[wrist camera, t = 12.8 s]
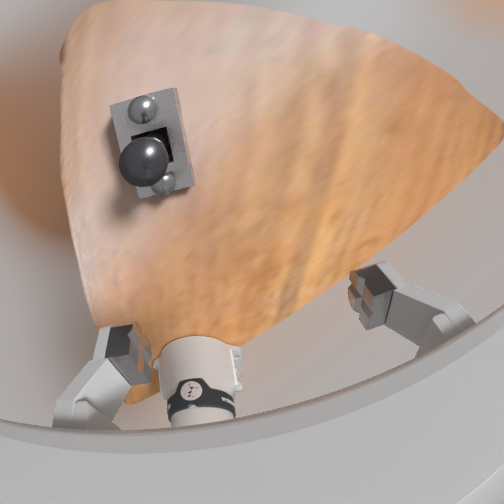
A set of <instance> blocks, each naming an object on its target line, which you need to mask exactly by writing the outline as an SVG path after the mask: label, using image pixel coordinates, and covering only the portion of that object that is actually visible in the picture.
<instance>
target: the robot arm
mask: <svg viewBox="0 0 504 504" xmlns="http://www.w3.org/2000/svg"><path fill="white" fill-rule="evenodd" d="M349 280H350V281H351V283H352V284H351V285H350V286H349V288H348V298H349V302H350V305H351V307H352V308H353V310H354V311H356V312H358V313H360V314H359V320H360V321H361V323H362V324H363V326H364V328H365V329H366V330H369V329H372V328H375V327H377V326H381V325H384V324H385V325H386V326H387V327H389V328H390V329H392V330H394V331H395V332H397V333H398V334H400V335H402V336H404V337H405V338H407V339H409V340H410V341H412V342H413V343H415V344H416V345H418V346H420V348H419V350H418V352H417V354H416V356H415V358H414V359H413V360H410V361H408V362H406V363H404V364H402V365H399V366H397V367H395V368H393V369H391V370H388V371H386V372H384V373H382V374H379V375H377V376H374V377H372V378H370V379H367V380H365V381H362V382H360V383H357V384H354V385H352V386H349V387H346V388H343V389H341V390H338V391H335V392H332V393H329V394H326V395H323V396H320V397H317V398H314V399H310V400H307V401H304V402H300V403H297V404H293V405H290V406H286V407H282V408H278V409H275V410H271V411H266V412H262V413H258V414H254V415H249V416H244V417H239V418H235V416H236V414H235V405H234V398H235V392H237V391H238V392H239V391H242V383H241V381H240V376H241V363H242V348H241V347H239V346H234V345H228V344H226V343H224V342H222V341H220V340H217V339H215V338H211V337H205V336H189V337H183V338H179V339H176V340H174V341H172V342H170V343H169V344H167V345H166V346H165V347H164V348H163V350H162V352H161V355H160V356H159V357H158V358H157V359H155V360H154V361H153V368H154V369H155V370H156V371H158V372H159V382H160V393H161V396H163V397H164V398H165V399H166V400H167V401H168V402H167V403H168V404H167V405H168V407H167V414H168V418H169V421H170V422H171V428H159V429H145V430H121V429H120V428H119V427H118V426H116V425H115V424H114V423H112V420H113V418H114V416H115V415H116V413H117V411H118V409H119V407H120V406H121V404H122V402H123V400H124V399H125V397H126V395H127V393H128V392H129V390H130V388H131V385H137V384H144V383H151V367H150V366H149V365H148V363H149V361H150V360H151V359H152V351H151V345H150V343H149V340H148V338H147V337H146V335H144V334H142V333H141V327H140V325H139V324H138V322H129V323H122V324H116V325H111V326H103V327H101V328H100V330H99V333H98V337H97V342H96V346H95V351H94V355H93V360H89V361H88V363H87V364H86V365H85V366H84V368H83V369H82V370H81V371H80V372H79V373H78V375H77V376H76V377H75V378H74V380H73V381H72V382H71V383H70V384H69V386H68V387H67V388H66V389H65V391H64V392H63V393H62V394H61V396H60V397H59V398H58V399H57V402H56V407H55V413H54V419H53V425H52V427H45V426H37V425H30V424H23V423H18V422H12V421H7V420H2V419H0V504H504V305H502V306H501V307H500V308H498V309H497V310H496V311H494V312H492V313H491V314H490V315H488V316H487V317H485V318H484V319H482V320H481V321H479V322H478V323H475V322H474V321H473V319H472V318H470V316H469V315H468V314H467V312H466V311H465V310H464V309H463V308H462V307H461V305H460V304H459V303H457V302H454V301H452V300H449V299H447V298H444V297H442V296H439V295H437V294H434V293H432V292H429V291H427V290H424V289H422V288H419V287H417V286H414V285H412V284H409V285H407V284H406V283H405V281H404V280H403V279H402V278H401V277H400V276H399V275H398V273H397V272H396V271H395V270H394V269H393V268H392V267H391V266H390V265H389V264H388V262H386V261H382V262H379V263H376V264H373V265H369V266H366V267H363V268H359V269H356V270H352V271H351V272H350V276H349Z"/></svg>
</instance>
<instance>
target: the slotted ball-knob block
mask: <svg viewBox="0 0 504 504" xmlns="http://www.w3.org/2000/svg"><path fill="white" fill-rule="evenodd" d="M110 110H111V114H112V119H113V123H114V127H115V132H116V136H117V140H118V144H119V147H120V151H121V153H122V151H123V150H124V148H125V147H126V146H127V145H128V144H129V143H130V142H132V141H133V140H135V139H138V138H139V135H138V134H141V133H144V132H148V131H152V130H155V129H159V128H163V127H167V132H168V136H169V141H170V146H171V150H172V154H171V155H168V159H169V161H168V167H167V170H166V172H165V174H164V176H163V177H162V179H161V180H160V181H159V182H157V183H156V184H154V185H152V186H148V187H138V186H136V190H137V193H138V196H139V199H142V198H146V197H150V196H154V195H160V196H165V195H168V194H170V193H171V192H172V191H174V190H179V189H183V188H187V187H192V186H195V180H194V175H193V170H192V166H191V161H190V156H189V151H188V146H187V141H186V136H185V131H184V126H183V121H182V116H181V110H180V105H179V99H178V94H177V88H170V89H166V90H162V91H158V92H154V93H150V94H147V95H143V96H139V97H136V98H133V99H130V100H126V101H123V102H120V103H117V104H114V105H111V106H110Z"/></svg>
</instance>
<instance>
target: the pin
mask: <svg viewBox="0 0 504 504" xmlns="http://www.w3.org/2000/svg"><path fill="white" fill-rule="evenodd" d="M168 145H169V137H168V135H167V134H166V133H165V132H164V131H162V130H153V131H151V132H150V133H149V134H148V135H147V136H146V137H141V138H138V139H135V140H133V141H132V142H130V143H129V144H128V145H127V146H126V147H125V148H124V150H123V151H122V153H121V156H120V159H119V168H120V171H121V174H122V176H123V177H124V179H125V180H126V181H127V182H129V183H130V184H132V185H134V186H138V187H148V186H152V185H154V184H156V183H157V182H159V181H160V180H161V179H162V177H163V176H164V174H165V172H166V170H167V167H168V161H169V159H168V153H167V148H168Z"/></svg>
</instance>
